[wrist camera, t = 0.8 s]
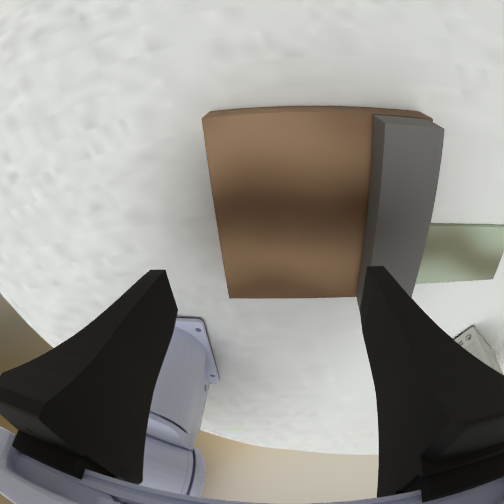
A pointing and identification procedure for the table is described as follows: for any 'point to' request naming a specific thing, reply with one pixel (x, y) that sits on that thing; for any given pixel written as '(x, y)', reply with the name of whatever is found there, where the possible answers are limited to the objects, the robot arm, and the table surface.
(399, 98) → the table surface
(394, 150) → the gray rectangular bar
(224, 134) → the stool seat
